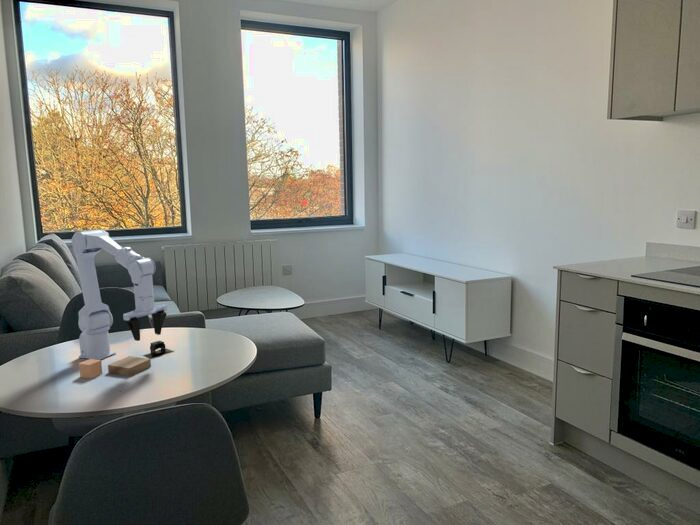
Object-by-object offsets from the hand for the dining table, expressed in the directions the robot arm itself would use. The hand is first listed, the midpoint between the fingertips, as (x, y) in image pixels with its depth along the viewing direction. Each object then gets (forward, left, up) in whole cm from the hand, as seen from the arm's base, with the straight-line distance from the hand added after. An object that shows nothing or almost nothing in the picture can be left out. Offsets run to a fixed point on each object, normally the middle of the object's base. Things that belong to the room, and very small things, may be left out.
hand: (147, 337), depth 175 cm
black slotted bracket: (-7, +12, -11) cm, 17 cm away
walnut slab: (-4, -4, -10) cm, 12 cm away
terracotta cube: (-12, -12, -10) cm, 20 cm away
